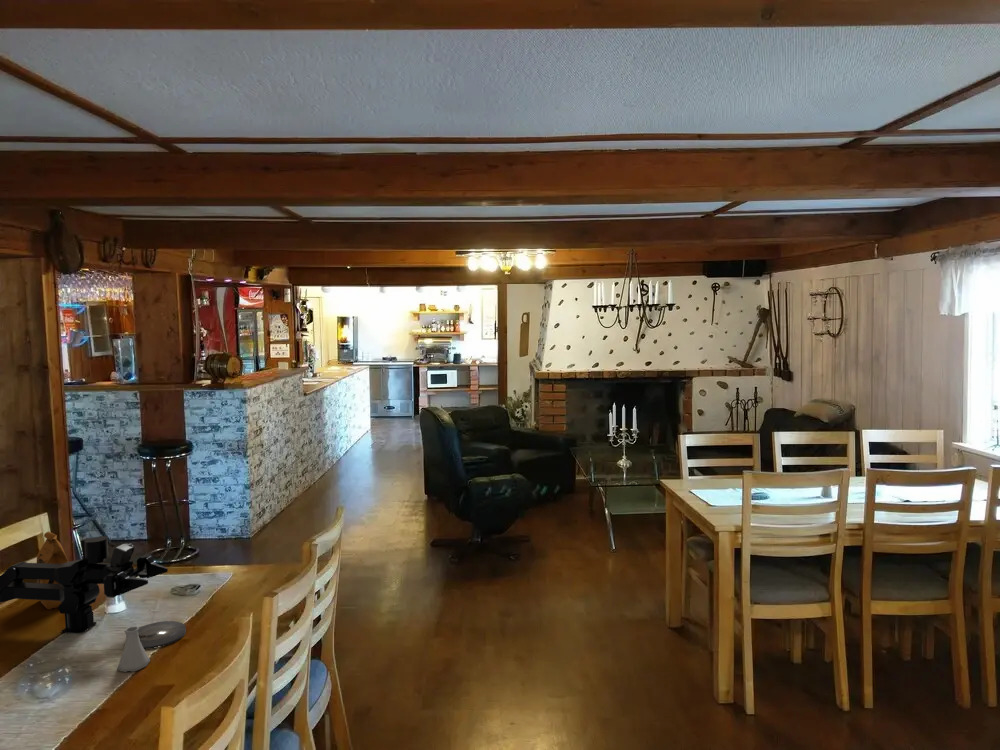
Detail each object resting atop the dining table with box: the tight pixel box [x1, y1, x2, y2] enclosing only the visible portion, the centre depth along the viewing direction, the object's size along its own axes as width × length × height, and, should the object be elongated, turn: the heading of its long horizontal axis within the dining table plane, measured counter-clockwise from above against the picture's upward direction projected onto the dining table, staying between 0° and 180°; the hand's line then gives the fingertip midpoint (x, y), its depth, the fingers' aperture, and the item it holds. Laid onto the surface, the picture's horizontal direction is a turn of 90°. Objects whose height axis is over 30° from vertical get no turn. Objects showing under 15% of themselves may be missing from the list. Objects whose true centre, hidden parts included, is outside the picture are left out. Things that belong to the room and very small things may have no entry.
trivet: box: [138, 620, 187, 650], centre depth 194 cm, size 15×15×1 cm
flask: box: [116, 625, 151, 673], centre depth 177 cm, size 7×7×10 cm
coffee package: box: [35, 531, 69, 610], centre depth 218 cm, size 10×12×22 cm
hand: (157, 575), depth 196 cm, fingers open, 9 cm apart
